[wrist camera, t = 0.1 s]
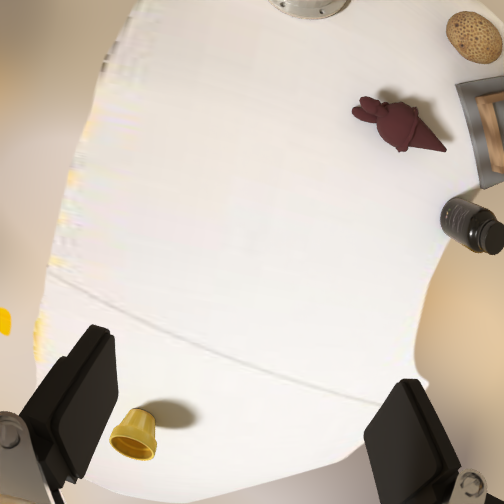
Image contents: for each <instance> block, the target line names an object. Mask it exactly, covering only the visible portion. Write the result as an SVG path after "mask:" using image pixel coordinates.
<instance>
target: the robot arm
mask: <svg viewBox="0 0 504 504" xmlns="http://www.w3.org/2000/svg"><path fill="white" fill-rule="evenodd" d="M268 1H269V2H270V3H271V4H272V5H273V6H274V7H276V8H277V9H278V10H280V11H282V12H283V13H285V14H288V15H290V16H293V17H297V18H301V19H321V18H326V17H328V16H331V15H333V14H335V13H336V12H338V11H339V10H340V9H341V8H342V7H343V5H344V4H345V2H346V0H268ZM281 6H284V7H281ZM320 13H322V14H320ZM117 399H118V382H117V370H116V355H115V338H114V336H113V335H111V334H110V331H109V329H106V328H103V327H100V326H97V325H93V324H92V325H90V326H89V328H88V329H87V330H86V332H85V333H84V334H83V336H82V337H81V338H80V339H79V341H78V342H77V343H76V345H75V346H74V348H73V349H72V350H71V352H70V353H69V354H68V356H67V357H65V356H62V357H60V358H59V359H58V360H57V362H56V363H55V364H54V366H53V367H52V368H51V370H50V371H49V373H48V374H47V375H46V377H45V378H44V379H43V381H42V382H41V384H40V385H39V386H38V388H37V389H36V391H35V392H34V394H33V395H32V397H31V398H30V399H29V401H28V402H27V404H26V405H25V407H24V408H23V410H22V411H21V413H20V414H19V416H18V415H16V414H15V413H12V412H8V411H1V412H0V504H67V503H66V501H65V499H64V496H63V494H62V491H61V488H63V485H64V483H65V481H68V482H71V483H73V484H76V481H77V479H78V478H80V479H82V478H83V477H84V475H85V473H86V471H87V468H88V466H89V463H90V461H91V459H92V456H93V454H94V452H95V449H96V447H97V445H98V442H99V440H100V438H101V435H102V433H103V431H104V429H105V426H106V424H107V422H108V420H109V417H110V415H111V413H112V411H113V408H114V406H115V404H116V402H117ZM364 441H365V445H366V449H367V452H368V456H369V459H370V464H371V467H372V471H373V475H374V479H375V483H376V487H377V490H378V495H379V499H380V503H381V504H504V501H502V500H500V499H498V498H496V497H494V496H492V495H490V494H488V493H487V483H486V480H485V478H484V477H483V475H482V474H481V473H480V472H478V471H476V470H474V469H465V470H463V471H461V472H460V473H459V472H458V469H459V468H460V467H461V464H460V462H459V459H458V457H457V455H456V453H455V451H454V449H453V446H452V444H451V442H450V440H449V438H448V436H447V434H446V432H445V430H444V428H443V426H442V424H441V422H440V420H439V418H438V416H437V414H436V412H435V410H434V408H433V406H432V404H431V402H430V400H429V398H428V396H427V394H426V392H425V390H424V389H423V387H422V385H421V383H420V381H419V380H418V379H402V380H400V382H399V383H396V385H395V386H394V388H393V389H392V391H391V392H390V394H389V395H388V397H387V399H386V400H385V402H384V403H383V405H382V406H381V408H380V409H379V411H378V412H377V413H376V415H375V416H374V418H373V419H372V421H371V422H370V423H369V425H368V426H367V428H366V429H365V431H364Z"/></svg>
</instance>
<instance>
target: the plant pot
mask: <svg viewBox="0 0 504 504" xmlns="http://www.w3.org/2000/svg"><path fill="white" fill-rule="evenodd" d="M109 441H110V444H111V446H112V447H113V448H114V449H115V450H116V451H118V452H119V453H121V454H122V455H124V456H127V457H129V458H132V459H135V460H142V461H146V460H151V459H152V458H153V457H154V455H155V452H156V447H157V442H156V440H155V419H154V417H153V416H152V415H151V414H149V413H148V412H146V411H144V410H141V409H132V410H130V411H129V412H128V414H127V415H126V416H125V418H124V419H123V420H122V422H121V423H120V424H119V425H118V426H116V427H115V428H114V429H113V431H112V433H111V436H110V439H109Z"/></svg>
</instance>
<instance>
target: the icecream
mask: <svg viewBox="0 0 504 504" xmlns="http://www.w3.org/2000/svg"><path fill="white" fill-rule="evenodd" d="M359 101H360V104H361V107H362V108H360V107H354V108H353V109H352V114H353V115H354V116H355V117H356V118H358V119H360V120H361V121H365V122H369V123H377V130H378V132H379V134H380V136H381V137H382V138H383V139H384V141H386V142H387V143H389V144H390V145H392V146H393V147H396V149H397V150H398V152H401V151H403V152H405V151H407V150H408V146H409V147H416V148H423V149H429V150H435V151H440V152H446V151H447V149H446V148H445V146H444V145H443V144H442V143H441V142H440V140H439V139H438V138H437V137H436V136H435V134H434V133H433V132H432V131H431V130H430V129H429V128H428V126H427V125H426V124H425V123H424V122H423V121H422V120H421V119H420V118H419V117H418V114H419V113H418V109H417V107H410V106H409V105H406V104H405V103H403V102H399V103H392V104H389V103H388V102H383V103H380V101H379V100H375V99H373V98H370V97H367V96H365V97H361V98H360V100H359Z"/></svg>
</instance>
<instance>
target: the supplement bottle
mask: <svg viewBox="0 0 504 504" xmlns="http://www.w3.org/2000/svg"><path fill="white" fill-rule="evenodd" d="M440 222H441V227H442V229H443V231H444V232H445V234H447V235H448V236H449V237H451V238H452V239H454V240H455V241H457V242H459V243H460V244H462V245H463V246H465V247H467V248H468V249H470V250H471V251H473V252H475V253H482V252H486V253H488V254H490V255H495V254H498V253H499V252H500V251H501V250H502V249H503V247H504V225H503V224H502V223H500V222H499V221H497V219H496V217H495V215H494V214H493V213H492V212H491V211H490V210H488V209H486V208H484V207H481V206H479V205H477V204H474V203H472V202H469V201H467V200H464V199H461V198H454V199H451V200H450V201H448V202H447V203H446V204H445V206H444V207H443V209H442V212H441V217H440Z"/></svg>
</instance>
